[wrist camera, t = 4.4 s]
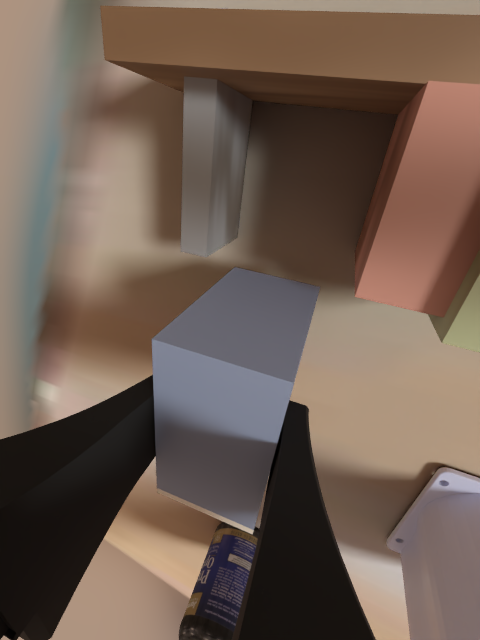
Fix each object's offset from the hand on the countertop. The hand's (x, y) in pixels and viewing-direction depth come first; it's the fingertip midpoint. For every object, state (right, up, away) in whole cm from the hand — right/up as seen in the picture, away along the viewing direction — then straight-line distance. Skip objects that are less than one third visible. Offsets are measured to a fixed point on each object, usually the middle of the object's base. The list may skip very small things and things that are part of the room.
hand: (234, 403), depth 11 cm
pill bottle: (+1, -18, +18) cm, 26 cm away
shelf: (+5, +10, +2) cm, 11 cm away
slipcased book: (+1, +2, +4) cm, 4 cm away
